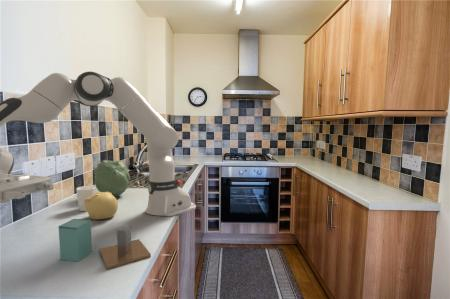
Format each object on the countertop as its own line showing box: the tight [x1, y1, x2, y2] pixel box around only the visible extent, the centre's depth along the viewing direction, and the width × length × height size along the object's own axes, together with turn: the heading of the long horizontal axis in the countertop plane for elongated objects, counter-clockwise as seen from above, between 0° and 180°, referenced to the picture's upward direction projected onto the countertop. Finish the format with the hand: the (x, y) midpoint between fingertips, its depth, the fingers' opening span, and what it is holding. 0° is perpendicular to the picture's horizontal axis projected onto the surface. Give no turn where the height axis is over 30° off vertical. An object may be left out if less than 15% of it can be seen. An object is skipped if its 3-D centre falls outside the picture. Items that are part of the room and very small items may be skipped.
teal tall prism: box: [58, 218, 93, 263], centre depth 75 cm, size 6×6×10 cm
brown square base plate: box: [99, 226, 152, 270], centre depth 76 cm, size 17×17×8 cm
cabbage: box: [92, 159, 131, 198], centre depth 136 cm, size 16×19×20 cm
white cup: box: [76, 185, 97, 212], centre depth 116 cm, size 8×8×10 cm
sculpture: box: [84, 191, 119, 220], centre depth 106 cm, size 11×12×11 cm
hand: (38, 190), depth 76 cm, fingers open, 8 cm apart
